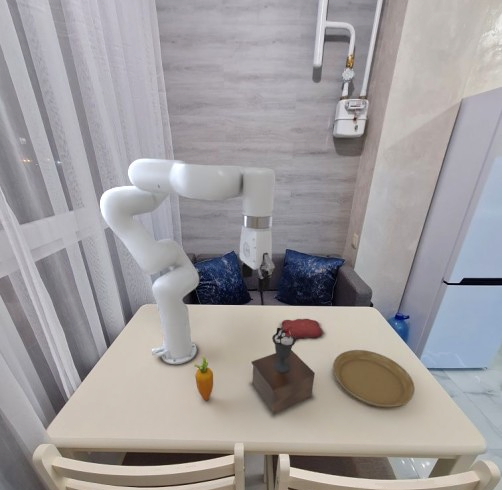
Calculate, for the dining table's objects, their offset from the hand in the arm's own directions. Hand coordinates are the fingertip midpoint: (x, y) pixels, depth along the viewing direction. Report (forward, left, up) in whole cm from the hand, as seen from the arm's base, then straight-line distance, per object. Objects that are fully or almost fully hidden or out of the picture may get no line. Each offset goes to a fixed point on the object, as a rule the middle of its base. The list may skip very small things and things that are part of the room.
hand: (254, 283), depth 73 cm
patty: (+31, +14, -34) cm, 48 cm away
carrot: (-17, -3, -34) cm, 38 cm away
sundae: (+5, -9, -24) cm, 27 cm away
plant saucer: (+33, -20, -34) cm, 51 cm away
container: (+5, -10, -34) cm, 36 cm away
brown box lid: (+5, -10, -25) cm, 27 cm away
